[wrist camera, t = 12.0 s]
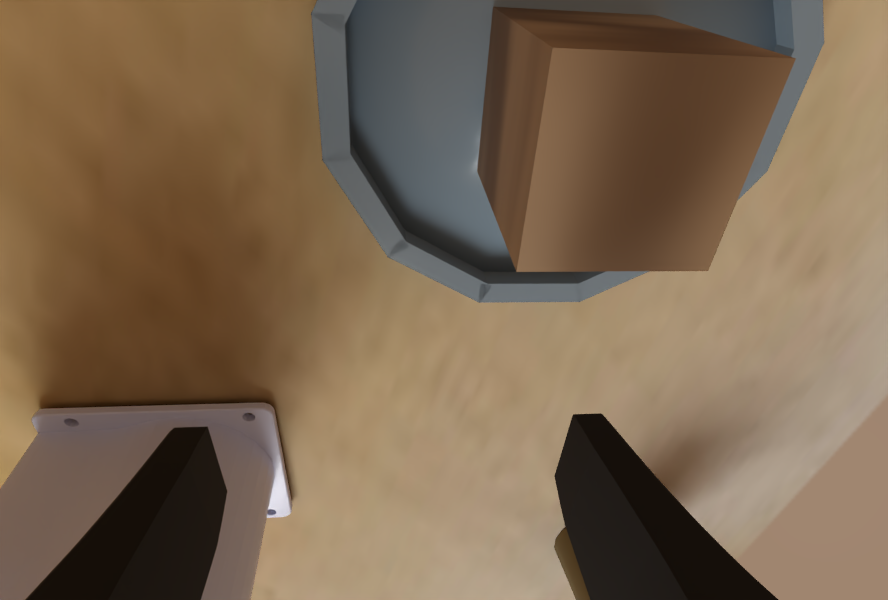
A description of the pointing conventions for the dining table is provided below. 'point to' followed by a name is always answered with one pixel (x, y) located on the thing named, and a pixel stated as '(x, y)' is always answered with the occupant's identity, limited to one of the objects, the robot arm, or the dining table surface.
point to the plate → (460, 119)
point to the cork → (570, 565)
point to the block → (619, 137)
